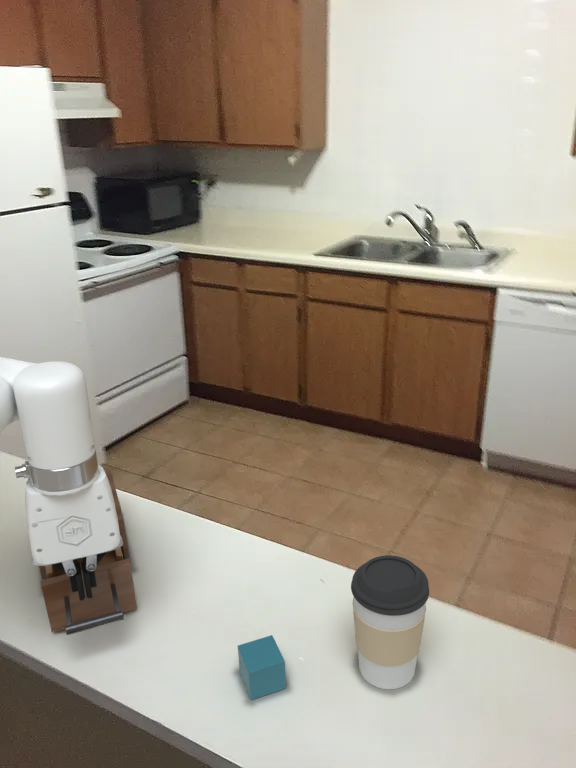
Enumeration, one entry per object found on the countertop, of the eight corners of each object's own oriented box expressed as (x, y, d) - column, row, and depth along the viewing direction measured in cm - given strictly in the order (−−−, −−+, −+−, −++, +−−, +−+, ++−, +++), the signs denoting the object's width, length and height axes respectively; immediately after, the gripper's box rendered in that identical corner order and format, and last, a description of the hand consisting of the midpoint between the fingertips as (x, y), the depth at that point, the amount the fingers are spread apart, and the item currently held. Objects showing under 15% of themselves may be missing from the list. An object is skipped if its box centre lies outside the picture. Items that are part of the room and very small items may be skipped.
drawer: (145, 641, 87) (138, 594, 84) (54, 668, 83) (43, 620, 80) (122, 548, 105) (115, 506, 102) (46, 566, 102) (37, 524, 98)
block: (250, 700, 79) (248, 672, 77) (239, 672, 83) (237, 645, 81) (286, 688, 81) (285, 661, 79) (273, 661, 84) (272, 634, 83)
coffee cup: (338, 651, 86) (338, 557, 79) (401, 631, 88) (405, 538, 82) (371, 707, 78) (373, 606, 72) (438, 683, 81) (446, 584, 75)
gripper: (-7, 497, 72) (23, 628, 79) (134, 470, 76) (149, 596, 84) (-5, 464, 78) (22, 588, 86) (124, 441, 83) (139, 560, 90)
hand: (85, 591), depth 85 cm, fingers closed
